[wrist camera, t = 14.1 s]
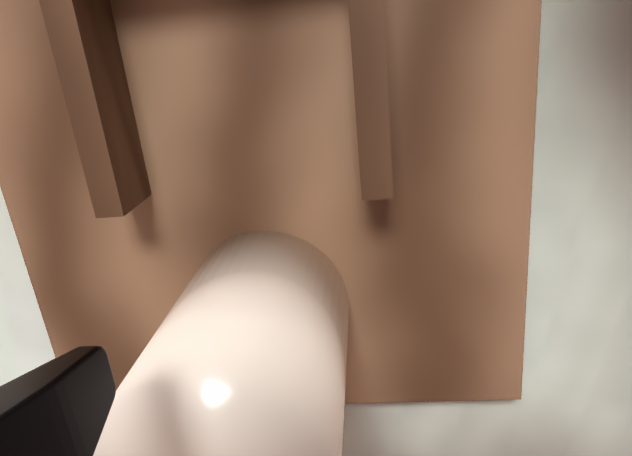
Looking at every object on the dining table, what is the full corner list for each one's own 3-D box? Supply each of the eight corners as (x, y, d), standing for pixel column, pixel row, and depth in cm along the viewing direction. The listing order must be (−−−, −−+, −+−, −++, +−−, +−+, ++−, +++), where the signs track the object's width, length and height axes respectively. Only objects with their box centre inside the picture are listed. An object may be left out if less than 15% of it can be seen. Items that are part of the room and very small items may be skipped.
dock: (539, -164, 16) (584, -213, 12) (514, 384, 23) (539, 443, 20) (-65, -80, 18) (-159, -103, 15) (83, 395, 25) (41, 450, 22)
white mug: (179, 236, 20) (53, 381, 12) (342, 225, 20) (328, 373, 11) (220, 434, 24) (143, 653, 16) (360, 431, 23) (358, 661, 15)
